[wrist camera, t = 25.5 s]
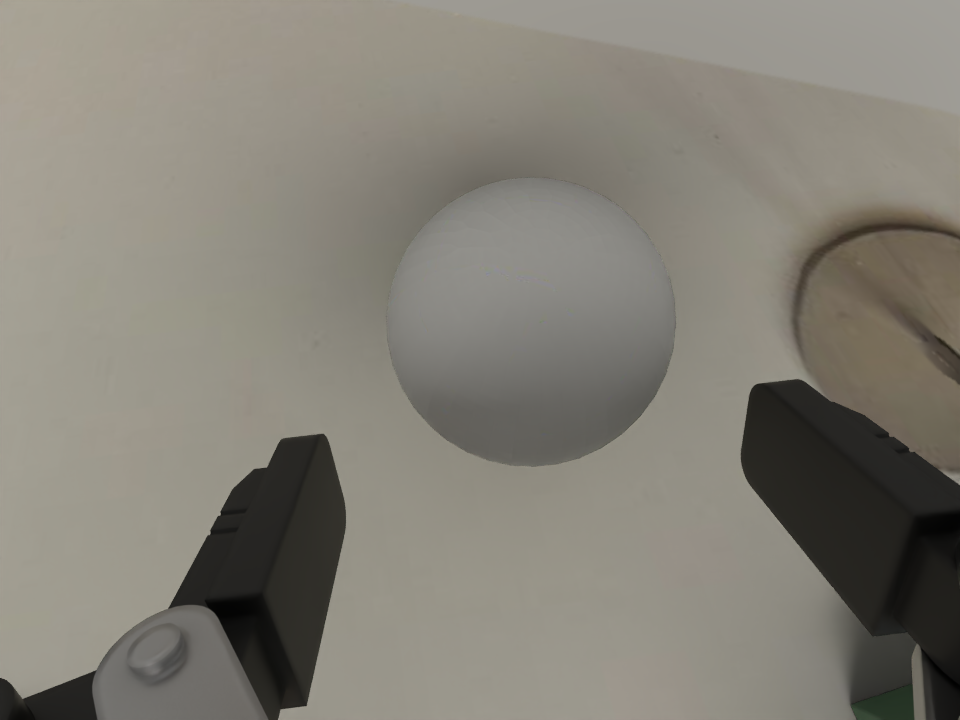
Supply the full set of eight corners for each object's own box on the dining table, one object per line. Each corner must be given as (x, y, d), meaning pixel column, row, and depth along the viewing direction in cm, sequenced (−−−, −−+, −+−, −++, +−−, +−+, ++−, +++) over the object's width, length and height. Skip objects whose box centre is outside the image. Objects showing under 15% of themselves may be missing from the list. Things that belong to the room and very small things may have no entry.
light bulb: (611, 492, 17) (761, 432, 7) (425, 496, 17) (342, 441, 8) (594, 321, 19) (698, 100, 9) (428, 325, 19) (363, 110, 9)
